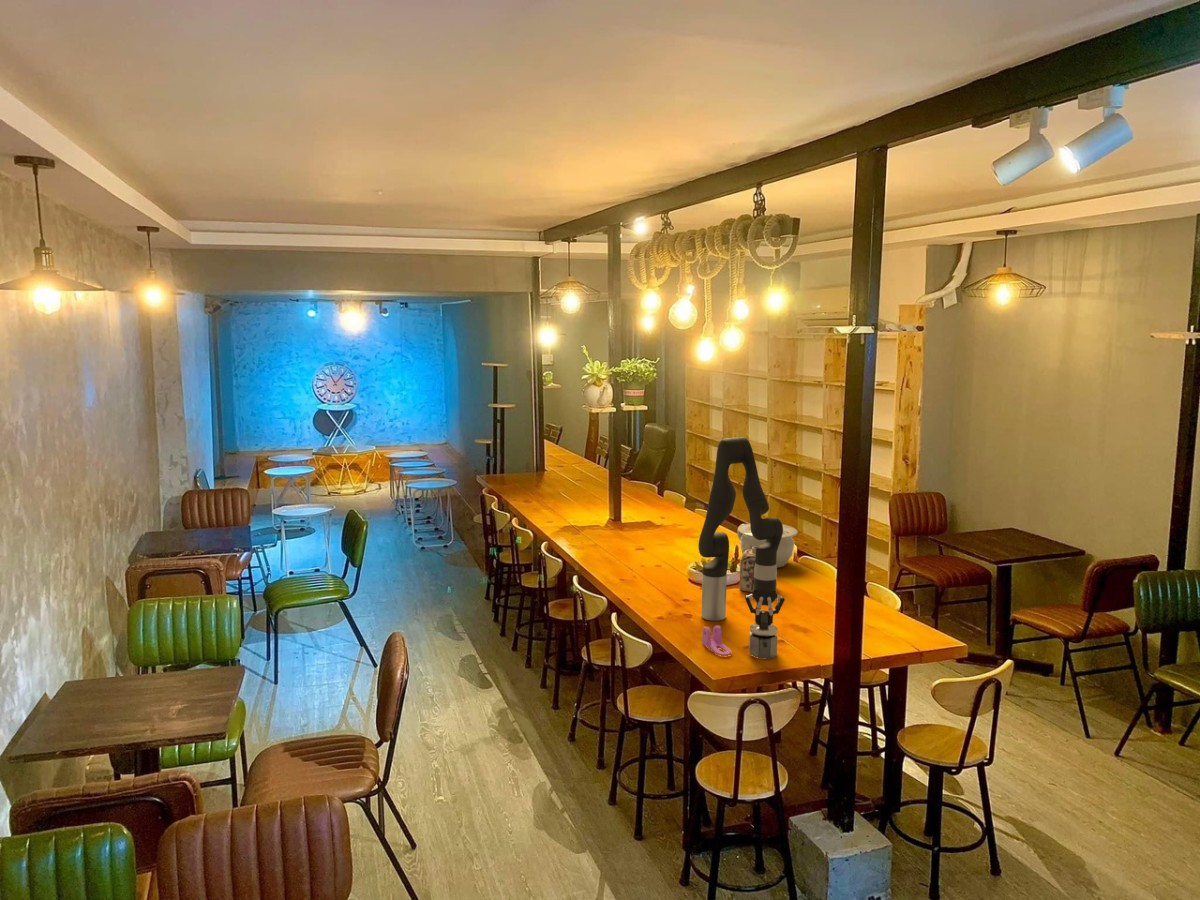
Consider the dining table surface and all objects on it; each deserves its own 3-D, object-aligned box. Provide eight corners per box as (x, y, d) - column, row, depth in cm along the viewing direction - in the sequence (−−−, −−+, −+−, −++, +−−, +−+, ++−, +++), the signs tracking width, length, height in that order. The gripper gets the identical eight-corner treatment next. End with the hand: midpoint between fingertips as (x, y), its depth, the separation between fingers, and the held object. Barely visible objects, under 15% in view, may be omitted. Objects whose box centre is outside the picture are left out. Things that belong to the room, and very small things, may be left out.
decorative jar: (738, 590, 350) (739, 549, 347) (747, 582, 360) (748, 542, 357) (766, 595, 344) (767, 553, 341) (774, 586, 354) (775, 546, 351)
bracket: (702, 644, 293) (702, 625, 292) (716, 642, 295) (716, 623, 294) (720, 658, 281) (720, 639, 280) (734, 656, 283) (735, 637, 282)
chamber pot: (802, 574, 372) (804, 529, 368) (741, 573, 372) (742, 528, 369) (789, 556, 399) (791, 514, 396) (732, 555, 400) (733, 513, 397)
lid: (748, 625, 288) (749, 606, 287) (775, 626, 287) (775, 607, 286) (751, 635, 279) (752, 616, 278) (779, 636, 278) (780, 617, 277)
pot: (747, 646, 291) (748, 627, 290) (773, 647, 291) (774, 627, 289) (751, 661, 279) (751, 641, 278) (778, 662, 278) (779, 642, 277)
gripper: (784, 573, 283) (783, 621, 286) (743, 572, 284) (741, 620, 287) (788, 580, 276) (786, 629, 279) (745, 579, 277) (743, 628, 280)
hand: (763, 624), depth 283 cm, fingers closed on lid, 3 cm apart
